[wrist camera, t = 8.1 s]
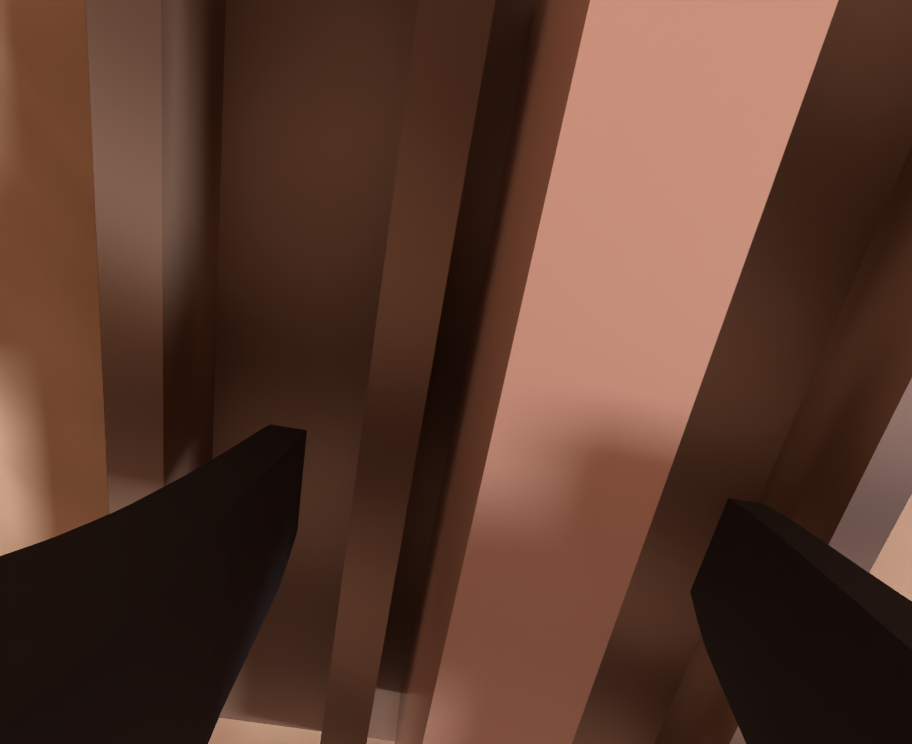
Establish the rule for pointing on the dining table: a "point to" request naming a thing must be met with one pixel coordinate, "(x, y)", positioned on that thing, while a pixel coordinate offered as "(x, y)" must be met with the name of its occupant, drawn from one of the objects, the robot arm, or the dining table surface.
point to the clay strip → (593, 340)
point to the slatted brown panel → (463, 320)
